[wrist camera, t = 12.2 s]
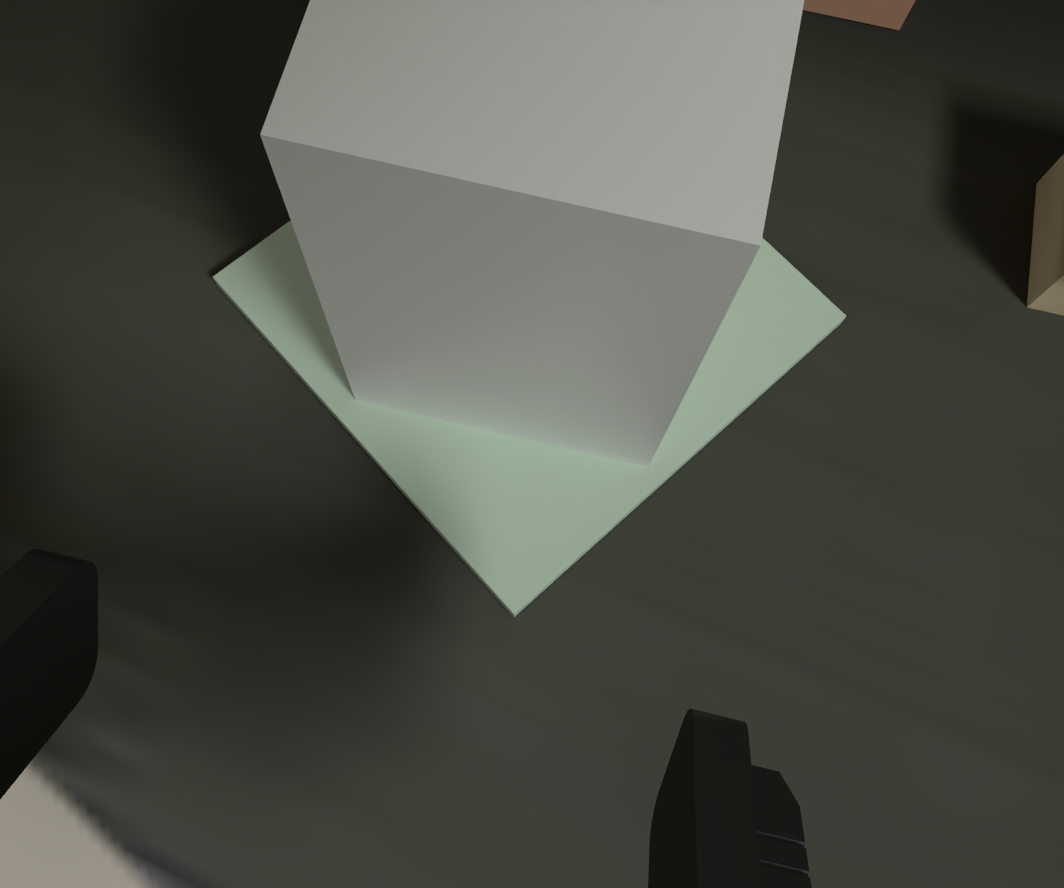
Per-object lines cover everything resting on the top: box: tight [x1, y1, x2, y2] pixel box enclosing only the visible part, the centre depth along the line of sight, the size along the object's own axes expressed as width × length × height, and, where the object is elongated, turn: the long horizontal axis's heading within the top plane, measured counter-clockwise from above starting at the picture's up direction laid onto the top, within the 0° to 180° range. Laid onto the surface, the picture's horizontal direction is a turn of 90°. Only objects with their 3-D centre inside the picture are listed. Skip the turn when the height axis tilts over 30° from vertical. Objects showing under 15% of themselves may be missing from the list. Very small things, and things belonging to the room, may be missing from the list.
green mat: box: [213, 220, 846, 617], centre depth 23 cm, size 10×10×1 cm
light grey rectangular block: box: [260, 0, 804, 467], centre depth 18 cm, size 6×6×9 cm
